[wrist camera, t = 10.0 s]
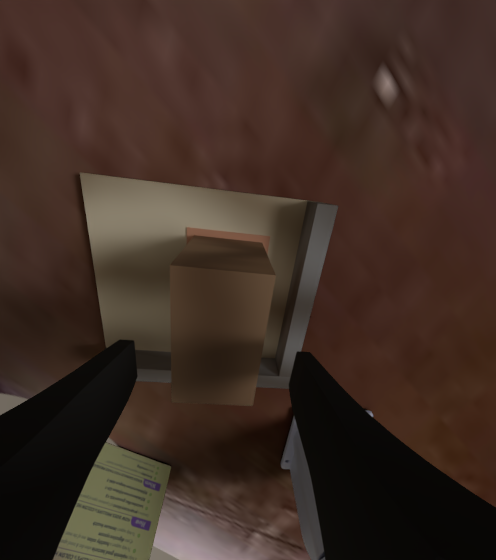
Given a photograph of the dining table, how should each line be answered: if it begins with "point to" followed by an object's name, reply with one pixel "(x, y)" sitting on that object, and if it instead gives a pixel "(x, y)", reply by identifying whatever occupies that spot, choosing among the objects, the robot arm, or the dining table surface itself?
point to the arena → (171, 241)
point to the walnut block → (218, 320)
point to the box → (116, 508)
